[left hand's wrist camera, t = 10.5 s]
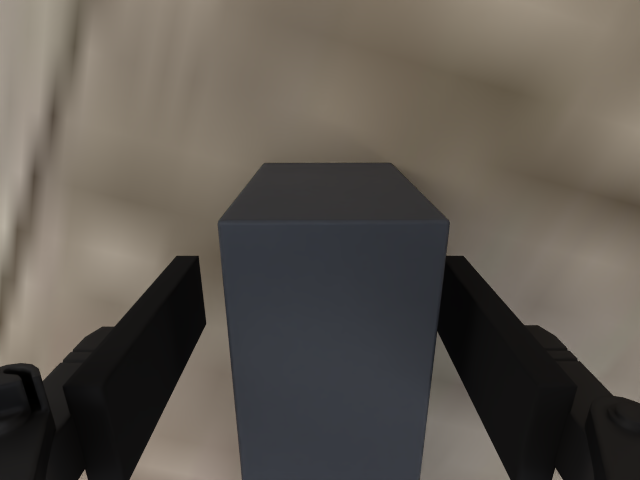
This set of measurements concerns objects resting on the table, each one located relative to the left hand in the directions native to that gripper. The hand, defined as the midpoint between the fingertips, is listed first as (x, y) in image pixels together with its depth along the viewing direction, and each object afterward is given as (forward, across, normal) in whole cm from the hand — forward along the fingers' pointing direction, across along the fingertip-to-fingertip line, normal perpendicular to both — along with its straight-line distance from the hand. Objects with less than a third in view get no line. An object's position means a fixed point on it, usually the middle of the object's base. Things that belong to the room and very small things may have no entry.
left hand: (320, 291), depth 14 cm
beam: (+3, 0, -24) cm, 24 cm away
